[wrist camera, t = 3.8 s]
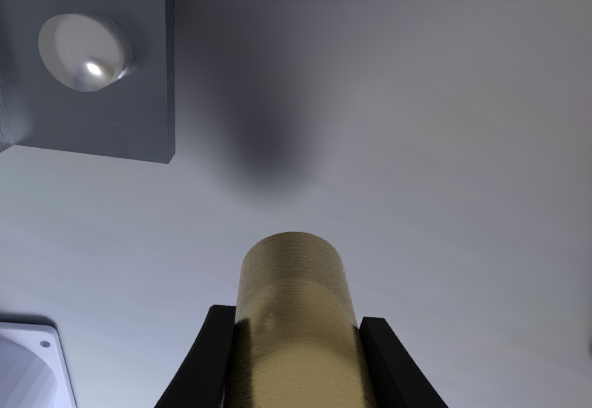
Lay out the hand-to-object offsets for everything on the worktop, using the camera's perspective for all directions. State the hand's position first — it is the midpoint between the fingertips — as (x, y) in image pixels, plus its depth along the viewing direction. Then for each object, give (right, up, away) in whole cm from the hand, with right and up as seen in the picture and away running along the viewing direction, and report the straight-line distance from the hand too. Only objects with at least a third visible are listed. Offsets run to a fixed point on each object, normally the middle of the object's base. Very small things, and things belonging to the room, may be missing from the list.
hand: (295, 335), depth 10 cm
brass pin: (0, +1, +2) cm, 3 cm away
